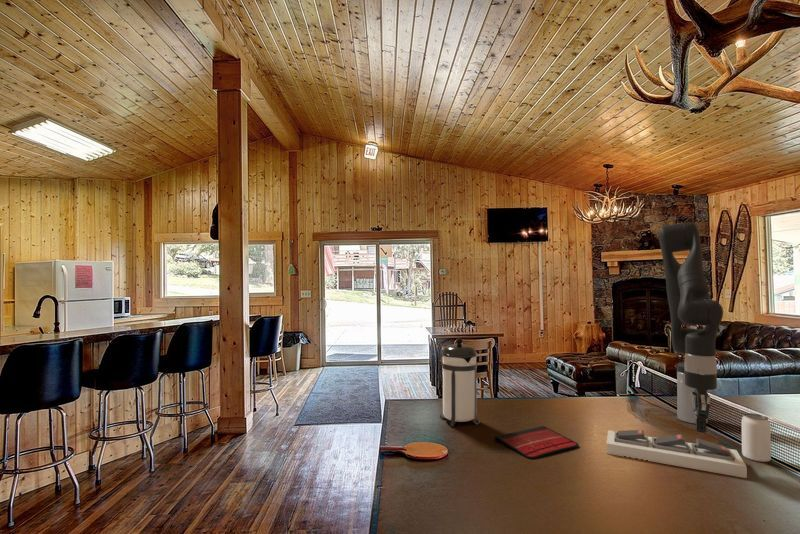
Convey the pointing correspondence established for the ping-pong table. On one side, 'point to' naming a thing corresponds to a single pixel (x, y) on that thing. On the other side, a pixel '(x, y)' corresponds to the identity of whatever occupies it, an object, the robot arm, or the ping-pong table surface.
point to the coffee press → (459, 383)
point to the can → (756, 437)
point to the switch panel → (677, 455)
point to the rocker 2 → (670, 440)
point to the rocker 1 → (631, 434)
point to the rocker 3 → (712, 447)
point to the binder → (536, 442)
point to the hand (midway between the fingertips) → (700, 431)
